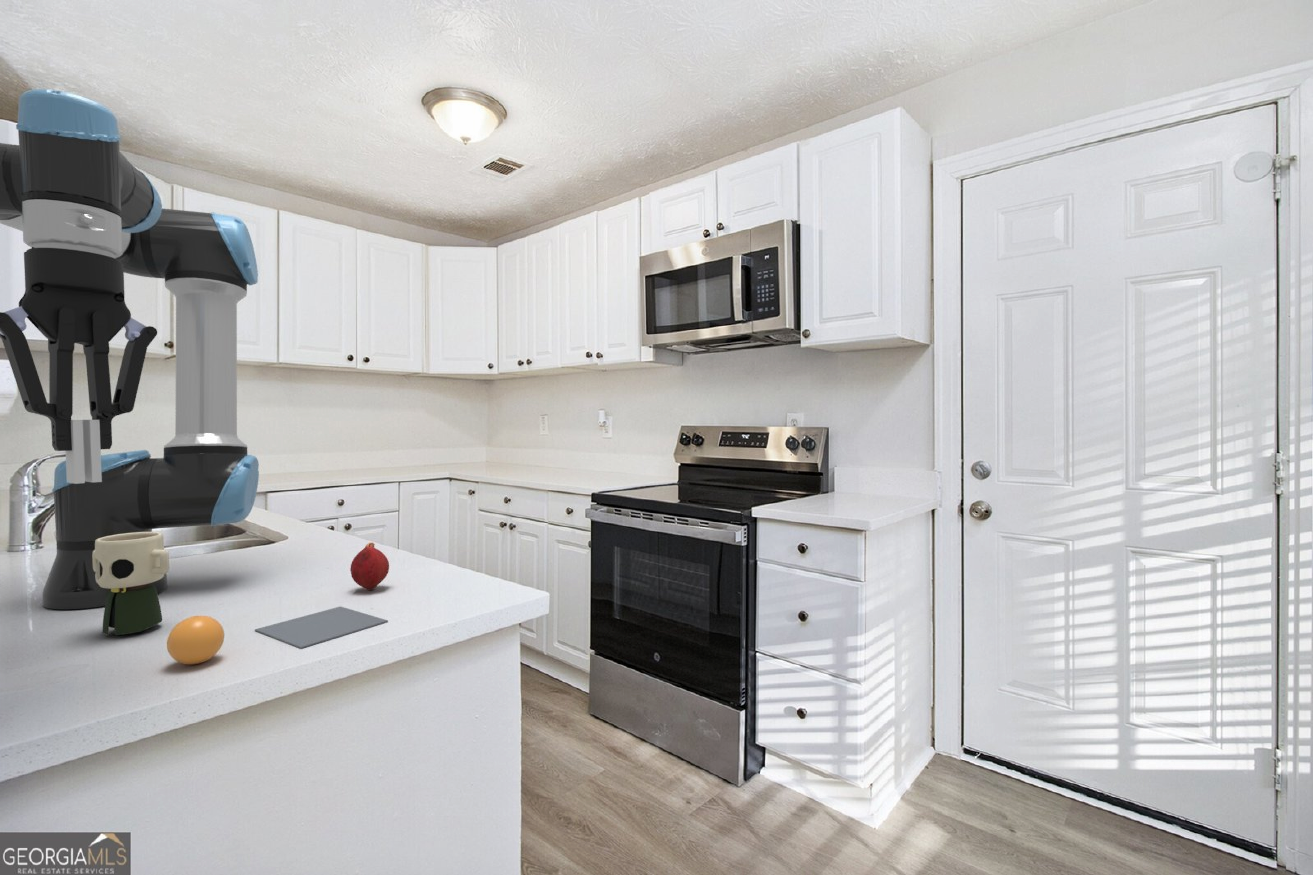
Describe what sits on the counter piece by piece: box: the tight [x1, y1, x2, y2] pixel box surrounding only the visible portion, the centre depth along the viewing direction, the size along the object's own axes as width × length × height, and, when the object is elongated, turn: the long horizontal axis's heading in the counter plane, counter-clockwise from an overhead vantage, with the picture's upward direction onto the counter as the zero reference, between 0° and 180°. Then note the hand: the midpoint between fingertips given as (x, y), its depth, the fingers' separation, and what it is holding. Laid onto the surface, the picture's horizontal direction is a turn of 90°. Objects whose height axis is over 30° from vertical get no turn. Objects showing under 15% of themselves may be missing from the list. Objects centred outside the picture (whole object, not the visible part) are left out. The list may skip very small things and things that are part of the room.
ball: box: [166, 615, 225, 665], centre depth 74 cm, size 6×6×6 cm
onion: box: [350, 541, 390, 591], centre depth 104 cm, size 6×6×8 cm
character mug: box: [92, 531, 170, 636], centre depth 85 cm, size 11×7×13 cm, turn 85°
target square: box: [254, 605, 389, 649], centre depth 87 cm, size 12×12×1 cm
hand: (84, 481), depth 65 cm, fingers closed
